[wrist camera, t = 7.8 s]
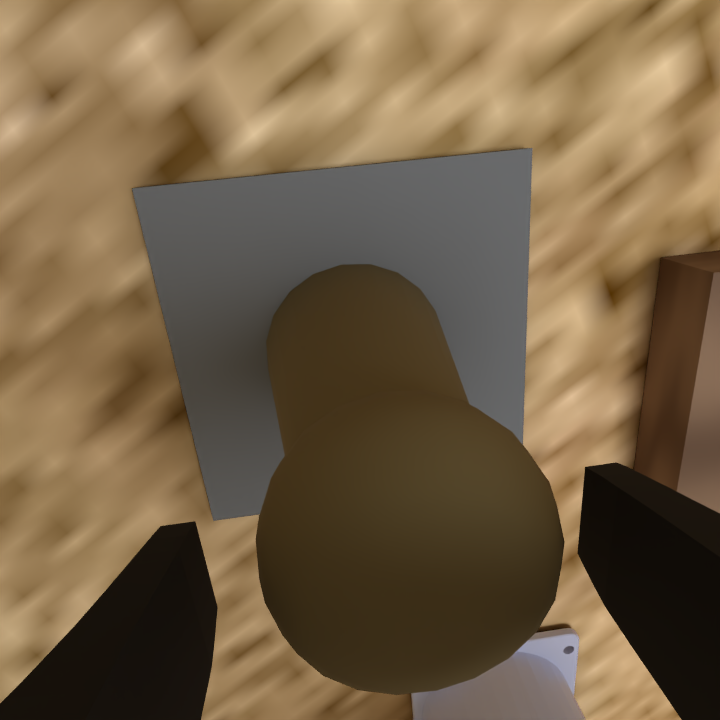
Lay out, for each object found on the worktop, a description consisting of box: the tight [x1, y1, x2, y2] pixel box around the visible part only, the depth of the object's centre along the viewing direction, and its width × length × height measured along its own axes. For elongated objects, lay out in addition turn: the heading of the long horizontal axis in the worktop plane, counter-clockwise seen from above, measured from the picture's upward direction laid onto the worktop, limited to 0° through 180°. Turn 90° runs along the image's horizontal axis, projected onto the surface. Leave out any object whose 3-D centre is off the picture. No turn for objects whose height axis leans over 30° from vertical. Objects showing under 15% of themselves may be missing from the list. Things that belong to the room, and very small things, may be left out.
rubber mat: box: [132, 148, 532, 521], centre depth 18 cm, size 12×12×1 cm
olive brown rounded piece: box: [256, 264, 564, 695], centre depth 13 cm, size 6×6×11 cm
